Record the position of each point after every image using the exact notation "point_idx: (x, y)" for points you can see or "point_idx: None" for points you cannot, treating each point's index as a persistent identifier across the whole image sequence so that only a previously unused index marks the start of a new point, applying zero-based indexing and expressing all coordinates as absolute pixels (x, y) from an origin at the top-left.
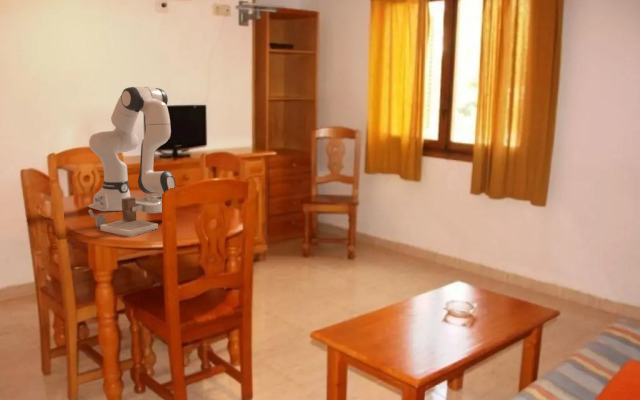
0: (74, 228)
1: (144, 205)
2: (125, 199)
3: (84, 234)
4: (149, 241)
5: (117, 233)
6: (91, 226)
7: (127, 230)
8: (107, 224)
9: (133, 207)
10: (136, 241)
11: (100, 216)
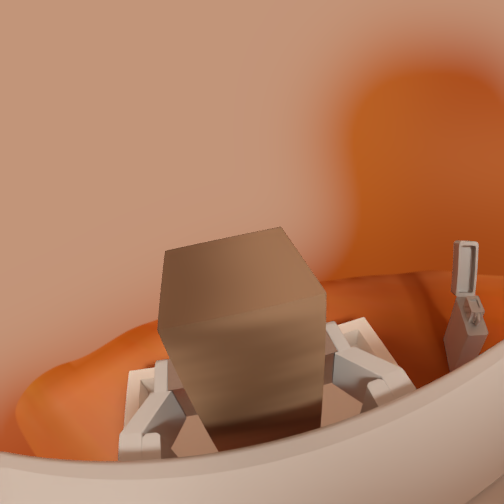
0: (441, 276)
1: (85, 462)
2: (212, 245)
3: (327, 284)
4: (31, 395)
5: None
6: None
7: (148, 371)
8: (369, 347)
9: (157, 363)
10: (71, 370)
11: (466, 311)
